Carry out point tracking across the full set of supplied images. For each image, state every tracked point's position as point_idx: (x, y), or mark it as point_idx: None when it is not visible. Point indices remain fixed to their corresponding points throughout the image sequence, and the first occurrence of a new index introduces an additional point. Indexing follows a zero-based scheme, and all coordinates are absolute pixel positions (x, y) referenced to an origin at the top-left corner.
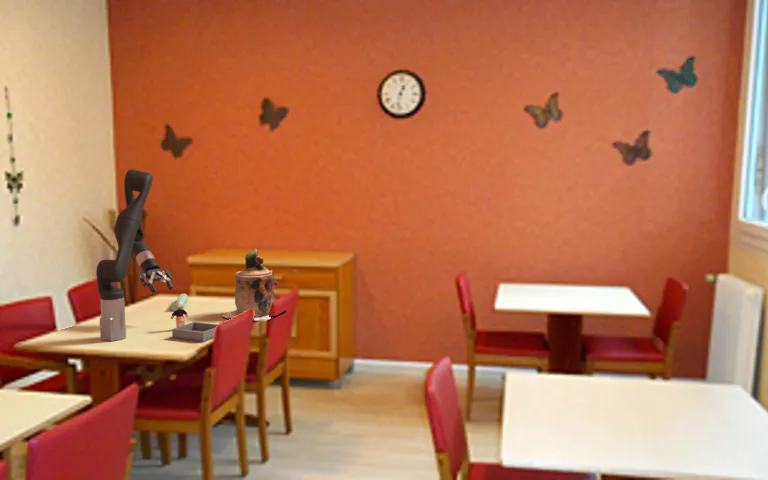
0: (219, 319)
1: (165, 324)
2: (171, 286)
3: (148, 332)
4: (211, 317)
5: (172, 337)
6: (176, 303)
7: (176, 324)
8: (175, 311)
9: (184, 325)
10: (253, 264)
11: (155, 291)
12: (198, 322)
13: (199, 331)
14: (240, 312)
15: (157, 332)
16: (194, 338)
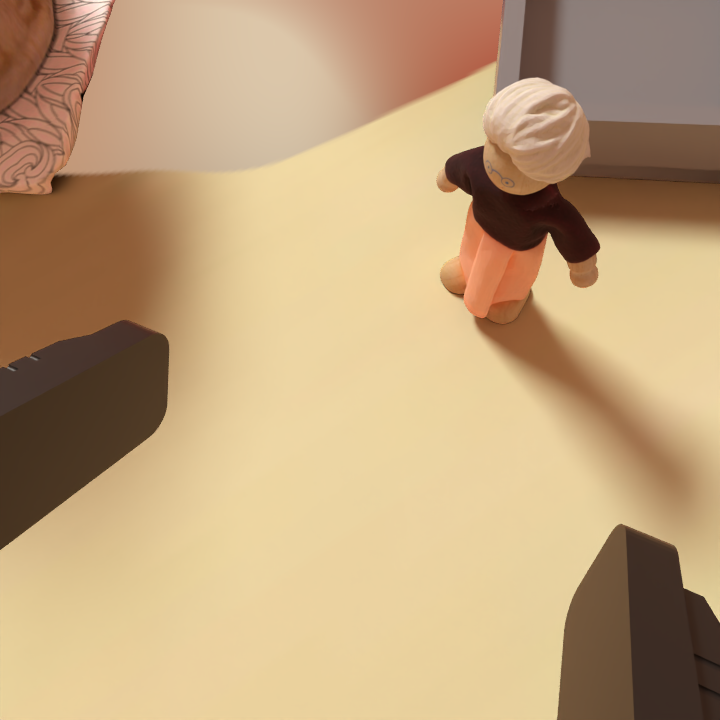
0: (95, 197)
1: (341, 547)
2: (138, 334)
3: (689, 522)
4: (31, 289)
5: None
6: (573, 130)
7: (533, 280)
8: (570, 205)
9: (651, 112)
10: None
11: (601, 556)
12: (502, 72)
13: (558, 76)
14: (7, 59)
15: (651, 432)
16: None
